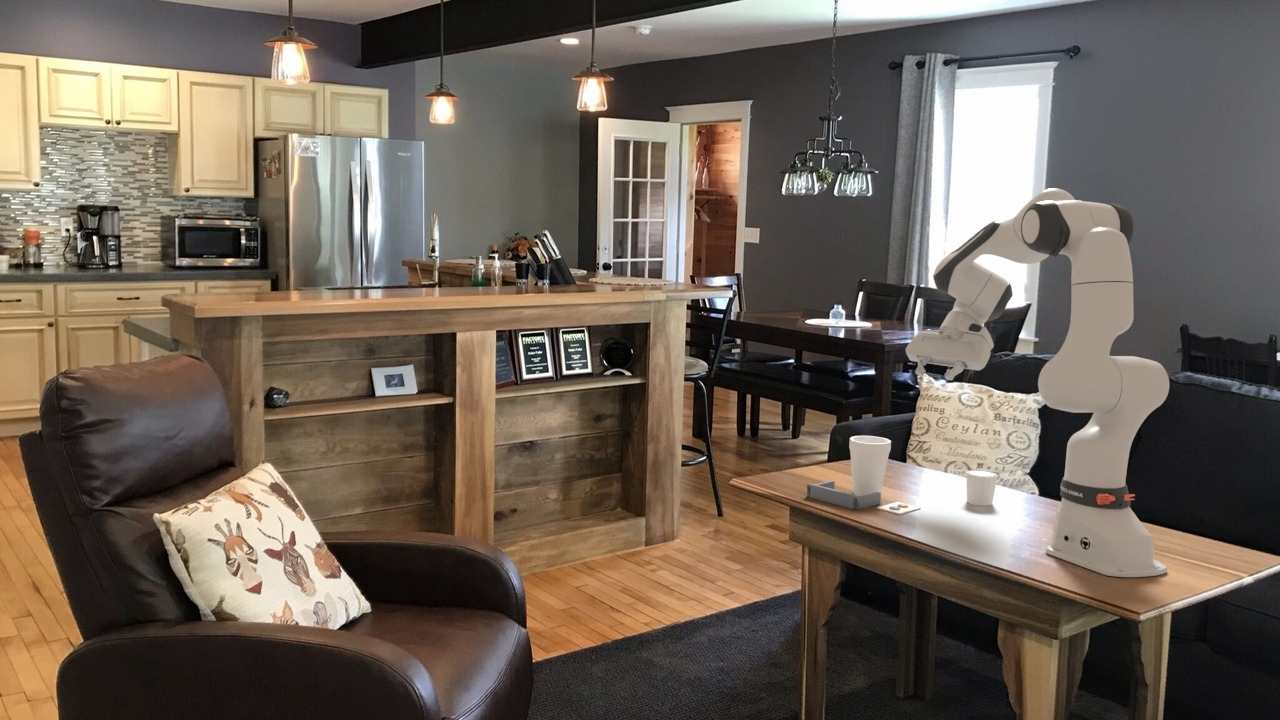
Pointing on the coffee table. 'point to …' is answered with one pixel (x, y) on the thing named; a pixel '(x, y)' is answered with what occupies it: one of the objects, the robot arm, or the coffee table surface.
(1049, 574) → the coffee table surface
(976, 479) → the shot glass
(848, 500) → the grey cup holder
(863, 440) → the foam cup
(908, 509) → the card
